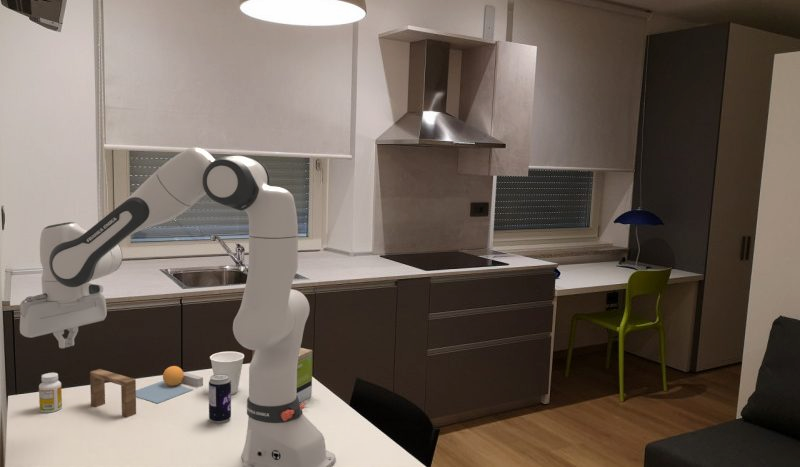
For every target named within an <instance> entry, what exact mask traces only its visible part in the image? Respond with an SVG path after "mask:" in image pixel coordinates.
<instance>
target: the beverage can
mask: <svg viewBox="0 0 800 467" xmlns="http://www.w3.org/2000/svg"><path fill="white" fill-rule="evenodd" d="M209 378H210V379H209V380H208V418H209V420H210V421H211V422H212V423H214V424H222V423H223V424H224V423H226V422H228V421H229V419H231V417H232V395H231V380H230V378H229V375H227V374H215V375H214V374H212V375H211V376H210V377H209Z"/></svg>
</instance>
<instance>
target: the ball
mask: <svg viewBox="0 0 800 467" xmlns="http://www.w3.org/2000/svg"><path fill="white" fill-rule="evenodd" d="M183 372H184V370H183V369H182V368H181V367H179V366H178V365H171V366H168V367H167V368H166V369H164V372H163V375H162V381H164V382H165V383H166V384H167V385H169V386H176V385H180V384H181V382H182V380H183V377H184V373H183Z"/></svg>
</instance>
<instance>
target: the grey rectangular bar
mask: <svg viewBox="0 0 800 467" xmlns="http://www.w3.org/2000/svg"><path fill="white" fill-rule="evenodd" d="M183 373H184V377H183V380H182V382H181V383H182V384H185V385H186V384H187V385H189V386H193V387H197V388H200V387H202V386H204V377H203V376H199V375H196V374H192V373H188V372H184V371H183ZM181 383H180V384H181Z"/></svg>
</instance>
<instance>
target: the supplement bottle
mask: <svg viewBox="0 0 800 467" xmlns="http://www.w3.org/2000/svg"><path fill="white" fill-rule="evenodd" d="M40 380H41V383H39V385H38V393H39V395H38V398H39V411H40V412H41V413H49V414H50V413H54V412H57V411H59V410H61V409H62V408H63V400H62V399H63V397H62V396H63V395H62V394H63V393H62V391H63V390H62V382H61V381H60V380H59V374H58V373H57V372H48V373H44V374H41V379H40Z"/></svg>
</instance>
